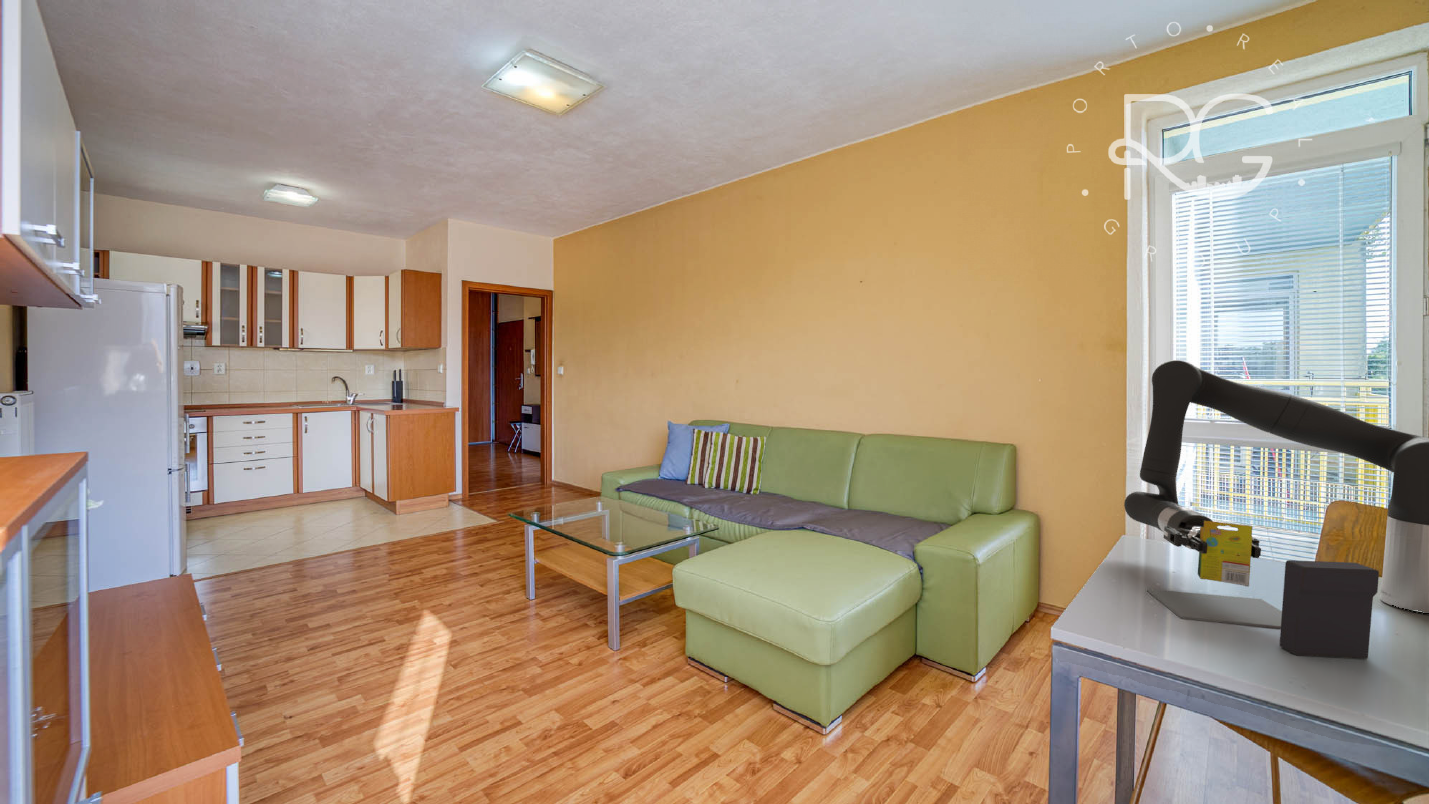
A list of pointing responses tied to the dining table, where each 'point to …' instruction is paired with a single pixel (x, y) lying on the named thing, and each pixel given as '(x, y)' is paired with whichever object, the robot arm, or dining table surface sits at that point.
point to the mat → (1220, 608)
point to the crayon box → (1226, 553)
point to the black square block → (1327, 608)
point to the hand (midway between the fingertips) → (1231, 550)
